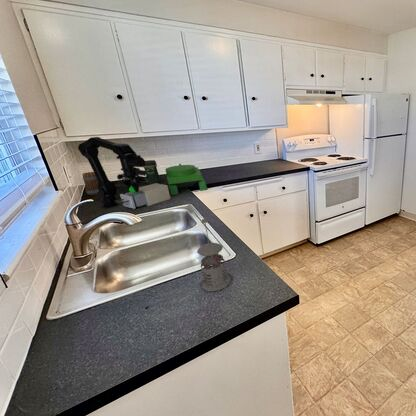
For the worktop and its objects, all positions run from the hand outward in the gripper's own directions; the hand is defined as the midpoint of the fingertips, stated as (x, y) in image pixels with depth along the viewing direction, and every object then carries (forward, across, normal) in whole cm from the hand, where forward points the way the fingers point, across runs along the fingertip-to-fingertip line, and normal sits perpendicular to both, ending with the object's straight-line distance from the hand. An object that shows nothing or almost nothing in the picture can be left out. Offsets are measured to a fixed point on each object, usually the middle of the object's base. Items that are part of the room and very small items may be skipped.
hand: (134, 191), depth 163 cm
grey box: (+11, +4, -12) cm, 17 cm away
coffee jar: (+11, +48, -39) cm, 63 cm away
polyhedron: (+1, 0, 0) cm, 1 cm away
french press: (+10, -103, +30) cm, 108 cm away
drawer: (+10, +4, -1) cm, 11 cm away
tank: (+11, +14, -44) cm, 47 cm away
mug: (+12, +61, -6) cm, 63 cm away
